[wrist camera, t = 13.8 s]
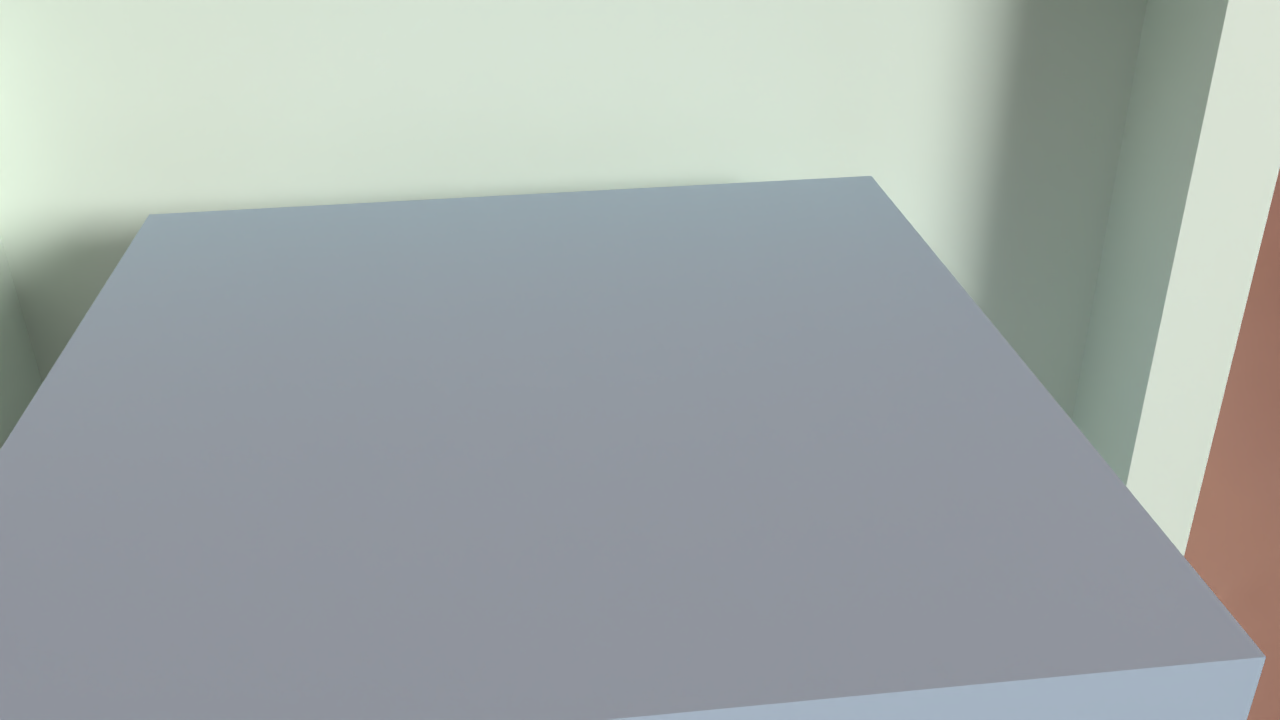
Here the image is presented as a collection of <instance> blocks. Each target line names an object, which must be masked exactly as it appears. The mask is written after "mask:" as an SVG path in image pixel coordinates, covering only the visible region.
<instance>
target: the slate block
mask: <svg viewBox="0 0 1280 720" xmlns="http://www.w3.org/2000/svg"><path fill="white" fill-rule="evenodd" d="M1265 659H1266V656H1265V655H1264V654H1263V653H1262V651H1261V650H1260V649H1259V648H1258V646H1257V645H1256V644H1255V643H1254V642H1253V640H1252V639H1251V638H1250V637H1249V636H1248V634H1247V633H1246V632H1245V631H1244V629H1243V628H1242V627H1241V626H1240V625H1239V623H1238V622H1237V621H1236V620H1235V618H1234V617H1233V616H1232V615H1231V614H1230V612H1229V611H1228V610H1227V609H1226V607H1225V606H1224V605H1223V604H1222V603H1221V601H1220V600H1219V599H1218V598H1217V597H1216V595H1215V594H1214V593H1213V592H1212V590H1211V589H1210V588H1209V587H1208V586H1207V584H1206V583H1205V582H1204V581H1203V579H1202V578H1201V577H1200V576H1199V575H1198V573H1197V572H1196V571H1195V570H1194V568H1193V567H1192V566H1191V565H1190V564H1189V562H1188V561H1187V560H1186V559H1185V558H1184V556H1183V555H1182V554H1181V553H1180V551H1179V550H1178V549H1177V548H1176V547H1175V545H1174V544H1173V543H1172V542H1171V540H1170V539H1169V538H1168V537H1167V536H1166V534H1165V533H1164V532H1163V531H1162V529H1161V528H1160V527H1159V526H1158V525H1157V523H1156V522H1155V521H1154V520H1153V519H1152V517H1151V516H1150V515H1149V514H1148V512H1147V511H1146V510H1145V509H1144V508H1143V506H1142V505H1141V504H1140V503H1139V501H1138V500H1137V499H1136V498H1135V497H1134V495H1133V494H1132V493H1131V492H1130V490H1129V489H1128V488H1127V487H1126V486H1125V484H1124V483H1123V482H1122V481H1121V480H1120V478H1119V477H1118V476H1117V475H1116V473H1115V472H1114V471H1113V470H1112V469H1111V467H1110V466H1109V465H1108V464H1107V462H1106V461H1105V460H1104V459H1103V458H1102V456H1101V455H1100V454H1099V453H1098V451H1097V450H1096V449H1095V448H1094V447H1093V445H1092V444H1091V443H1090V442H1089V441H1088V439H1087V438H1086V437H1085V436H1084V434H1083V433H1082V432H1081V431H1080V430H1079V428H1078V427H1077V426H1076V425H1075V423H1074V422H1073V421H1072V420H1071V419H1070V417H1069V416H1068V415H1067V414H1066V412H1065V411H1064V410H1063V409H1062V408H1061V406H1060V405H1059V404H1058V403H1057V402H1056V400H1055V399H1054V398H1053V397H1052V395H1051V394H1050V393H1049V392H1048V391H1047V389H1046V388H1045V387H1044V386H1043V384H1042V383H1041V382H1040V381H1039V380H1038V378H1037V377H1036V376H1035V375H1034V373H1033V372H1032V371H1031V370H1030V369H1029V367H1028V366H1027V365H1026V364H1025V363H1024V361H1023V360H1022V359H1021V358H1020V356H1019V355H1018V354H1017V353H1016V352H1015V350H1014V349H1013V348H1012V347H1011V345H1010V344H1009V343H1008V342H1007V341H1006V339H1005V338H1004V337H1003V336H1002V334H1001V333H1000V332H999V331H998V330H997V328H996V327H995V326H994V325H993V324H992V322H991V321H990V320H989V319H988V317H987V316H986V315H985V314H984V313H983V311H982V310H981V309H980V308H979V306H978V305H977V304H976V303H975V302H974V300H973V299H972V298H971V297H970V295H969V294H968V293H967V292H966V291H965V289H964V288H963V287H962V286H961V285H960V283H959V282H958V281H957V280H956V278H955V277H954V276H953V275H952V274H951V272H950V271H949V270H948V269H947V267H946V266H945V265H944V264H943V263H942V261H941V260H940V259H939V258H938V256H937V255H936V254H935V253H934V252H933V250H932V249H931V248H930V247H929V246H928V244H927V243H926V242H925V241H924V239H923V238H922V237H921V236H920V235H919V233H918V232H917V231H916V230H915V228H914V227H913V226H912V225H911V224H910V222H909V221H908V220H907V219H906V217H905V216H904V215H903V214H902V213H901V211H900V210H899V209H898V208H897V207H896V205H895V204H894V203H893V202H892V200H891V199H890V198H889V197H888V196H887V194H886V193H885V192H884V191H883V189H882V188H881V187H880V186H879V185H878V183H877V182H876V181H875V180H874V178H873V177H872V176H858V177H840V178H821V179H802V180H784V181H765V182H746V183H728V184H709V185H690V186H672V187H653V188H634V189H616V190H597V191H578V192H560V193H541V194H522V195H503V196H485V197H466V198H447V199H429V200H410V201H391V202H373V203H354V204H335V205H317V206H298V207H279V208H261V209H242V210H223V211H205V212H186V213H167V214H149V216H148V217H147V219H146V220H145V222H144V223H143V225H142V227H141V228H140V230H139V231H138V233H137V234H136V236H135V238H134V239H133V241H132V242H131V244H130V246H129V247H128V249H127V250H126V252H125V253H124V255H123V257H122V258H121V260H120V261H119V263H118V264H117V266H116V268H115V269H114V271H113V272H112V274H111V276H110V277H109V279H108V280H107V282H106V283H105V285H104V287H103V288H102V290H101V291H100V293H99V294H98V296H97V298H96V299H95V301H94V302H93V304H92V306H91V307H90V309H89V310H88V312H87V313H86V315H85V317H84V318H83V320H82V321H81V323H80V324H79V326H78V328H77V329H76V331H75V332H74V334H73V336H72V337H71V339H70V340H69V342H68V343H67V345H66V347H65V348H64V350H63V351H62V353H61V354H60V356H59V358H58V359H57V361H56V362H55V364H54V366H53V367H52V369H51V370H50V372H49V373H48V375H47V377H46V378H45V380H44V381H43V383H42V384H41V386H40V388H39V389H38V391H37V392H36V394H35V396H34V397H33V399H32V400H31V402H30V403H29V405H28V407H27V408H26V410H25V411H24V413H23V414H22V416H21V418H20V419H19V421H18V422H17V424H16V426H15V427H14V429H13V430H12V432H11V433H10V435H9V437H8V438H7V440H6V441H5V443H4V444H3V446H2V448H1V449H0V720H1247V717H1248V714H1249V711H1250V707H1251V704H1252V701H1253V698H1254V694H1255V691H1256V688H1257V685H1258V681H1259V678H1260V675H1261V672H1262V668H1263V665H1264V662H1265Z"/></svg>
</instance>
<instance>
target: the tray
mask: <svg viewBox="0 0 1280 720" xmlns="http://www.w3.org/2000/svg"><path fill="white" fill-rule="evenodd" d="M1279 168H1280V0H0V449H1V448H2V446H3V444H4V443H5V441H6V440H7V438H8V437H9V435H10V433H11V432H12V430H13V429H14V427H15V426H16V424H17V422H18V421H19V419H20V418H21V416H22V414H23V413H24V411H25V410H26V408H27V407H28V405H29V403H30V402H31V400H32V399H33V397H34V396H35V394H36V392H37V391H38V389H39V388H40V386H41V384H42V383H43V381H44V380H45V378H46V377H47V375H48V373H49V372H50V370H51V369H52V367H53V366H54V364H55V362H56V361H57V359H58V358H59V356H60V354H61V353H62V351H63V350H64V348H65V347H66V345H67V343H68V342H69V340H70V339H71V337H72V336H73V334H74V332H75V331H76V329H77V328H78V326H79V324H80V323H81V321H82V320H83V318H84V317H85V315H86V313H87V312H88V310H89V309H90V307H91V306H92V304H93V302H94V301H95V299H96V298H97V296H98V294H99V293H100V291H101V290H102V288H103V287H104V285H105V283H106V282H107V280H108V279H109V277H110V276H111V274H112V272H113V271H114V269H115V268H116V266H117V264H118V263H119V261H120V260H121V258H122V257H123V255H124V253H125V252H126V250H127V249H128V247H129V246H130V244H131V242H132V241H133V239H134V238H135V236H136V234H137V233H138V231H139V230H140V228H141V227H142V225H143V223H144V222H145V220H146V219H147V217H148V216H149V214H167V213H186V212H205V211H223V210H242V209H261V208H279V207H298V206H317V205H335V204H354V203H373V202H391V201H410V200H429V199H447V198H466V197H485V196H503V195H522V194H541V193H560V192H578V191H597V190H616V189H634V188H653V187H672V186H690V185H709V184H728V183H746V182H765V181H784V180H802V179H821V178H840V177H858V176H872V177H873V178H874V180H875V181H876V182H877V183H878V185H879V186H880V187H881V188H882V189H883V191H884V192H885V193H886V194H887V196H888V197H889V198H890V199H891V200H892V202H893V203H894V204H895V205H896V207H897V208H898V209H899V210H900V211H901V213H902V214H903V215H904V216H905V217H906V219H907V220H908V221H909V222H910V224H911V225H912V226H913V227H914V228H915V230H916V231H917V232H918V233H919V235H920V236H921V237H922V238H923V239H924V241H925V242H926V243H927V244H928V246H929V247H930V248H931V249H932V250H933V252H934V253H935V254H936V255H937V256H938V258H939V259H940V260H941V261H942V263H943V264H944V265H945V266H946V267H947V269H948V270H949V271H950V272H951V274H952V275H953V276H954V277H955V278H956V280H957V281H958V282H959V283H960V285H961V286H962V287H963V288H964V289H965V291H966V292H967V293H968V294H969V295H970V297H971V298H972V299H973V300H974V302H975V303H976V304H977V305H978V306H979V308H980V309H981V310H982V311H983V313H984V314H985V315H986V316H987V317H988V319H989V320H990V321H991V322H992V324H993V325H994V326H995V327H996V328H997V330H998V331H999V332H1000V333H1001V334H1002V336H1003V337H1004V338H1005V339H1006V341H1007V342H1008V343H1009V344H1010V345H1011V347H1012V348H1013V349H1014V350H1015V352H1016V353H1017V354H1018V355H1019V356H1020V358H1021V359H1022V360H1023V361H1024V363H1025V364H1026V365H1027V366H1028V367H1029V369H1030V370H1031V371H1032V372H1033V373H1034V375H1035V376H1036V377H1037V378H1038V380H1039V381H1040V382H1041V383H1042V384H1043V386H1044V387H1045V388H1046V389H1047V391H1048V392H1049V393H1050V394H1051V395H1052V397H1053V398H1054V399H1055V400H1056V402H1057V403H1058V404H1059V405H1060V406H1061V408H1062V409H1063V410H1064V411H1065V412H1066V414H1067V415H1068V416H1069V417H1070V419H1071V420H1072V421H1073V422H1074V423H1075V425H1076V426H1077V427H1078V428H1079V430H1080V431H1081V432H1082V433H1083V434H1084V436H1085V437H1086V438H1087V439H1088V441H1089V442H1090V443H1091V444H1092V445H1093V447H1094V448H1095V449H1096V450H1097V451H1098V453H1099V454H1100V455H1101V456H1102V458H1103V459H1104V460H1105V461H1106V462H1107V464H1108V465H1109V466H1110V467H1111V469H1112V470H1113V471H1114V472H1115V473H1116V475H1117V476H1118V477H1119V478H1120V480H1121V481H1122V482H1123V483H1124V484H1125V486H1126V487H1127V488H1128V489H1129V490H1130V492H1131V493H1132V494H1133V495H1134V497H1135V498H1136V499H1137V500H1138V501H1139V503H1140V504H1141V505H1142V506H1143V508H1144V509H1145V510H1146V511H1147V512H1148V514H1149V515H1150V516H1151V517H1152V519H1153V520H1154V521H1155V522H1156V523H1157V525H1158V526H1159V527H1160V528H1161V529H1162V531H1163V532H1164V533H1165V534H1166V536H1167V537H1168V538H1169V539H1170V540H1171V542H1172V543H1173V544H1174V545H1175V547H1176V548H1177V549H1178V550H1179V551H1180V553H1181V554H1182V555H1183V556H1184V554H1185V550H1186V546H1187V541H1188V537H1189V533H1190V529H1191V525H1192V521H1193V517H1194V513H1195V509H1196V505H1197V501H1198V497H1199V493H1200V489H1201V485H1202V481H1203V476H1204V472H1205V468H1206V464H1207V460H1208V456H1209V452H1210V448H1211V444H1212V440H1213V436H1214V432H1215V428H1216V424H1217V420H1218V416H1219V412H1220V407H1221V403H1222V399H1223V395H1224V391H1225V387H1226V383H1227V379H1228V375H1229V371H1230V367H1231V363H1232V359H1233V355H1234V351H1235V347H1236V343H1237V338H1238V334H1239V330H1240V326H1241V322H1242V318H1243V314H1244V310H1245V306H1246V302H1247V298H1248V294H1249V290H1250V286H1251V282H1252V278H1253V273H1254V269H1255V265H1256V261H1257V257H1258V253H1259V249H1260V245H1261V241H1262V237H1263V233H1264V229H1265V225H1266V221H1267V217H1268V213H1269V209H1270V204H1271V200H1272V196H1273V192H1274V188H1275V184H1276V180H1277V176H1278V172H1279Z"/></svg>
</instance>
